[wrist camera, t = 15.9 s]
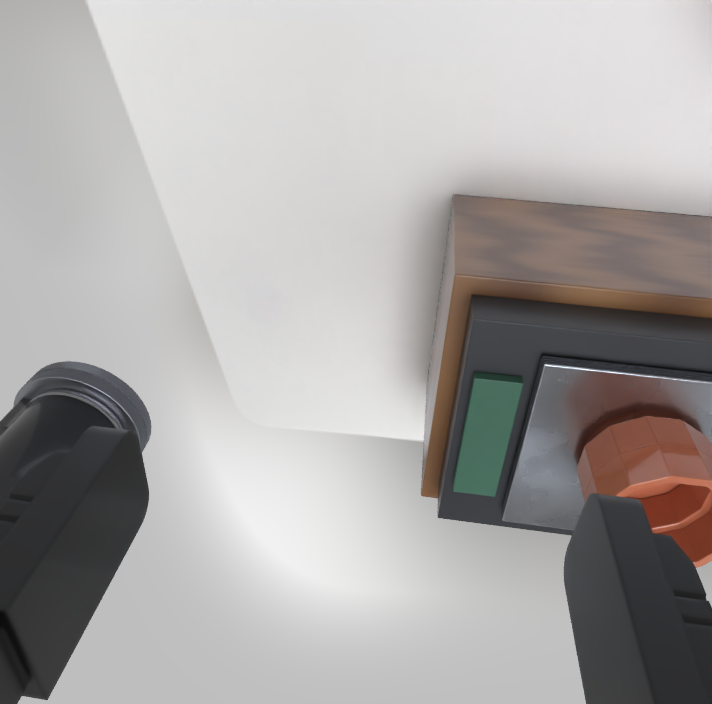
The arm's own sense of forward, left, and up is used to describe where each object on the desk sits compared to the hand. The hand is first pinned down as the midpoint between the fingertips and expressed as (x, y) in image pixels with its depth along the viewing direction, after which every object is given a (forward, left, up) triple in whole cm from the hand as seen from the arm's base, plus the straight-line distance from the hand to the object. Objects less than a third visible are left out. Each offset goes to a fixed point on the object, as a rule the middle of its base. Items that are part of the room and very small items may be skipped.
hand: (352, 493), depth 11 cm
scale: (+12, -13, -20) cm, 27 cm away
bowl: (+13, -13, -17) cm, 25 cm away
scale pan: (+13, -13, -17) cm, 25 cm away
